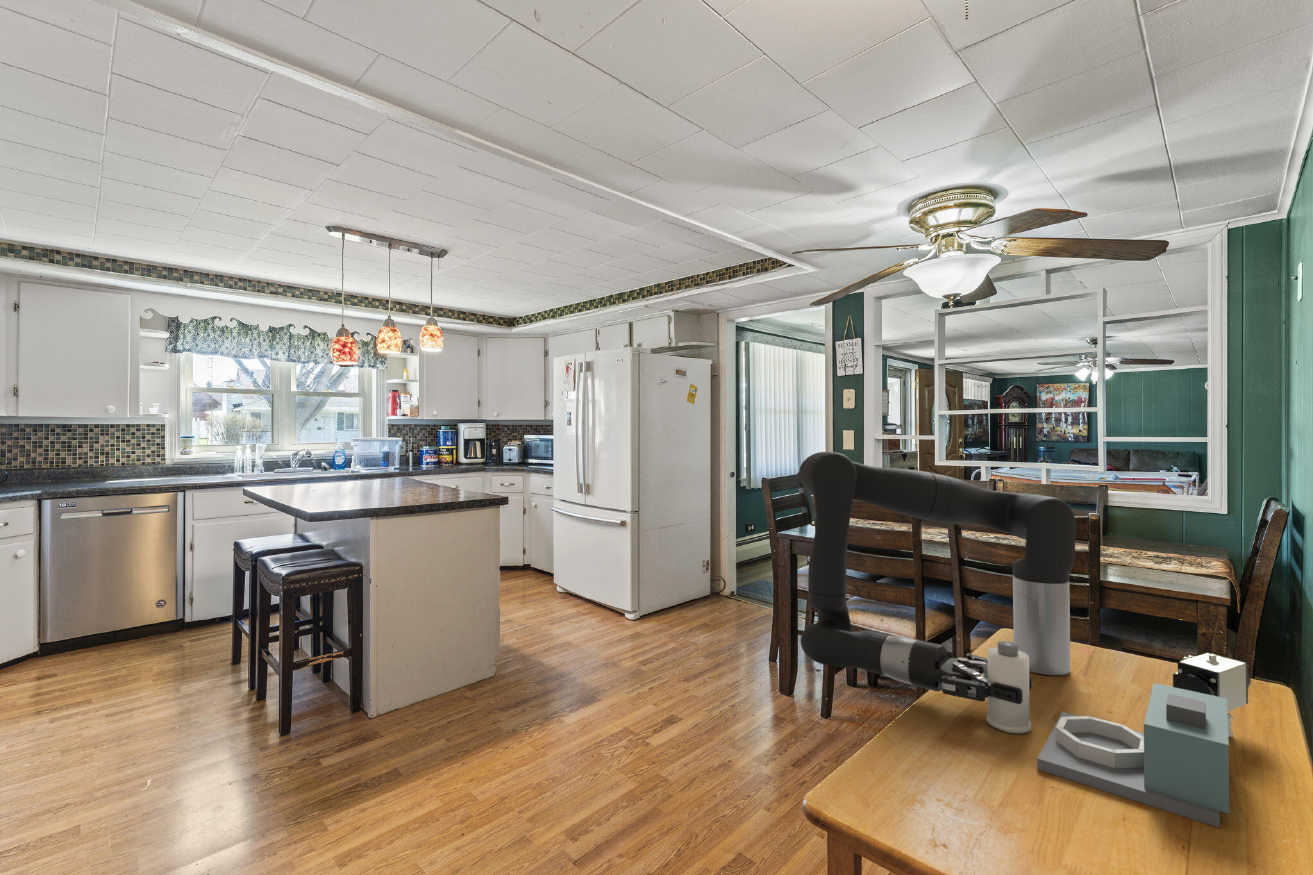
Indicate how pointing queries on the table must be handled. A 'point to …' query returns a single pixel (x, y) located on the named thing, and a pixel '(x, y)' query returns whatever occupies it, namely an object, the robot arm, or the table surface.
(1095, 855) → the table surface
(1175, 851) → the table surface
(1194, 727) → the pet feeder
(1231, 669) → the pneumatic valve
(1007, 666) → the bottle
